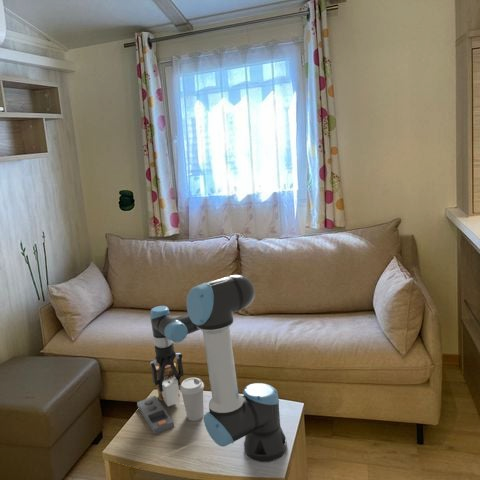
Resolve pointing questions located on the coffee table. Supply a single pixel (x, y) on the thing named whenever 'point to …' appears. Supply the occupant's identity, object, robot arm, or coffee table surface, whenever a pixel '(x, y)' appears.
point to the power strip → (155, 414)
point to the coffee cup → (193, 398)
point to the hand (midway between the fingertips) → (170, 394)
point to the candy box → (165, 377)
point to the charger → (171, 392)
